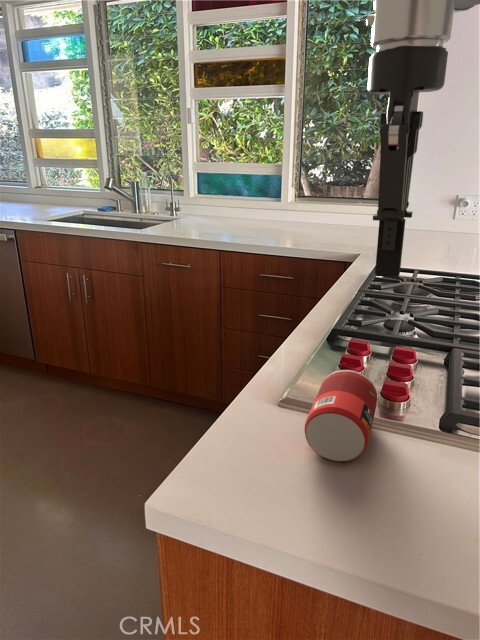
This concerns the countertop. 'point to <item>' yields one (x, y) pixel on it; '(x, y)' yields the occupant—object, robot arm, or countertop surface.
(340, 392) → the canned food
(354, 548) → the countertop surface
